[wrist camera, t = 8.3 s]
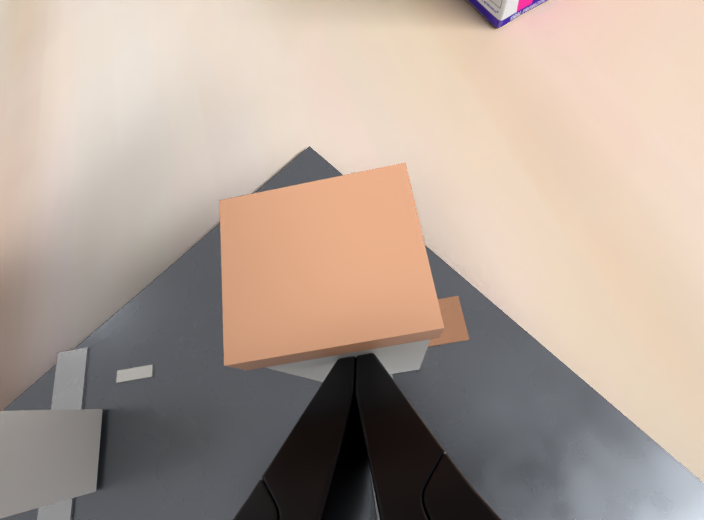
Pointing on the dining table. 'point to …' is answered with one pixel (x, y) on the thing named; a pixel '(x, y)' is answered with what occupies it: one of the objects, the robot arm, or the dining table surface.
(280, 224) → the terracotta slider
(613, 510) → the switch panel
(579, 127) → the dining table surface
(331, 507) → the robot arm
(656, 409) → the dining table surface
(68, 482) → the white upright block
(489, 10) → the supplement box
